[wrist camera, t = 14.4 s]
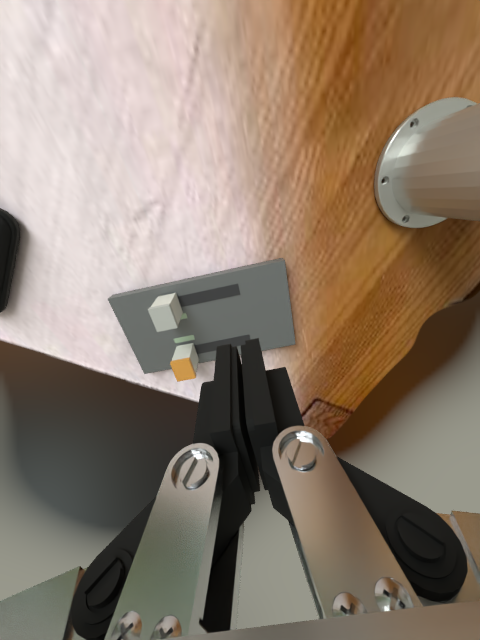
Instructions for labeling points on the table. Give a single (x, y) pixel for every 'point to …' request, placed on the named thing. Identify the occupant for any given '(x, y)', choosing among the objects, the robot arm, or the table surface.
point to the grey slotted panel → (210, 314)
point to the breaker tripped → (185, 362)
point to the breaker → (166, 312)
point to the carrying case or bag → (7, 254)
